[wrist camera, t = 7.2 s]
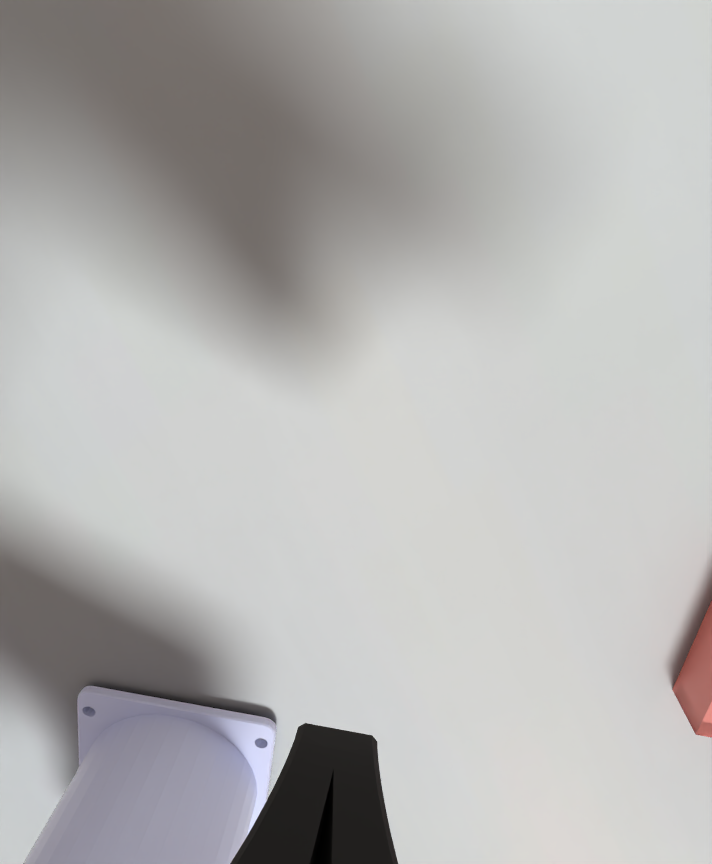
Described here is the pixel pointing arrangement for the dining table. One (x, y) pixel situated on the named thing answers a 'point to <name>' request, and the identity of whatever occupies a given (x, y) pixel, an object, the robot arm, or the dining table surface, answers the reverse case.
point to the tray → (698, 680)
